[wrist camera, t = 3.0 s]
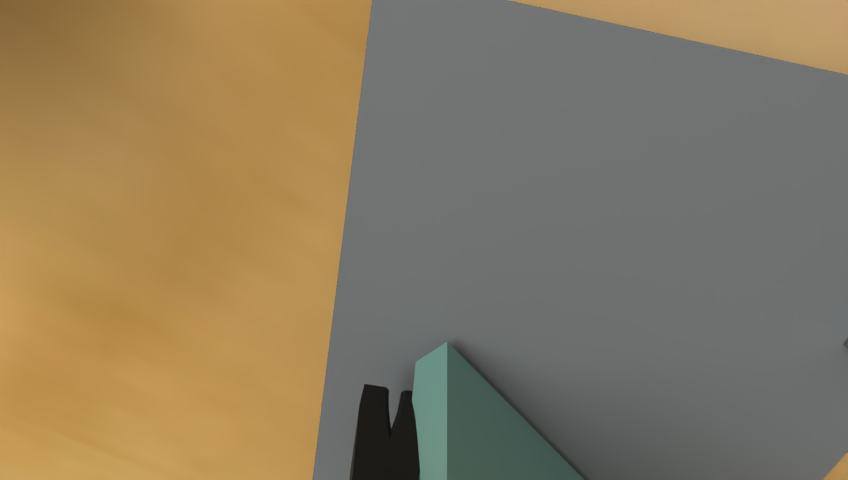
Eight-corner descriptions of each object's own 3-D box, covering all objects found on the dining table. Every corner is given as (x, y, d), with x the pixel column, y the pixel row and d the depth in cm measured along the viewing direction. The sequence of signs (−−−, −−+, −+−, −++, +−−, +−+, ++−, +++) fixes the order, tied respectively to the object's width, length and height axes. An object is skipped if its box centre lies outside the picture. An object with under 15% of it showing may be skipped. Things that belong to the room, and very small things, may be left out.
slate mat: (689, 604, 19) (696, 620, 18) (307, 538, 18) (303, 553, 18) (1092, 131, 10) (1129, 136, 10) (380, -25, 9) (375, -29, 9)
